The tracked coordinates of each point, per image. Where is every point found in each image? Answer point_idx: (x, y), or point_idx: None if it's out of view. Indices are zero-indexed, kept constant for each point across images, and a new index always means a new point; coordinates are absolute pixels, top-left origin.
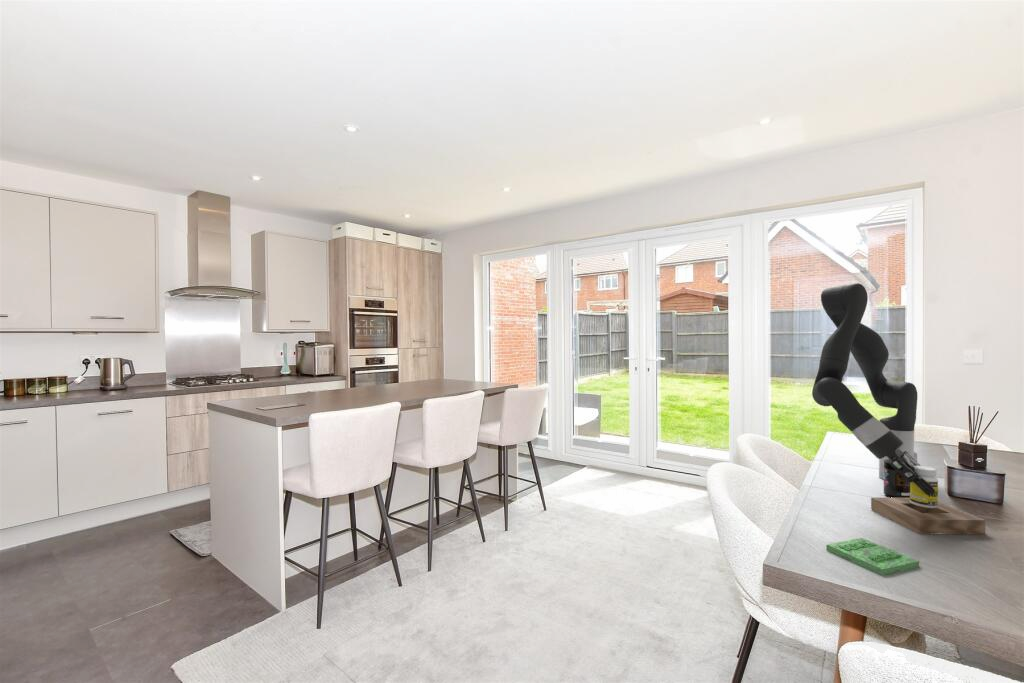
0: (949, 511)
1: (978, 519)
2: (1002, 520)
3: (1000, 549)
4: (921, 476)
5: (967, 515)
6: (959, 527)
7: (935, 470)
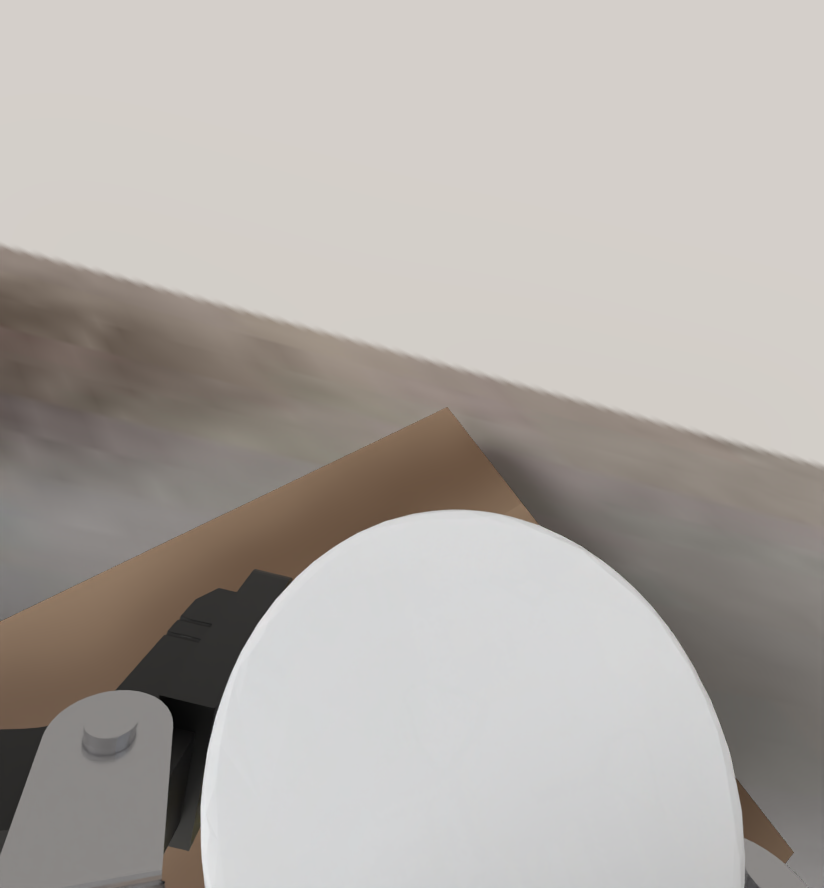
0: None
1: (461, 438)
2: (117, 317)
3: (630, 454)
4: (758, 861)
5: (405, 474)
6: None
7: (566, 539)
